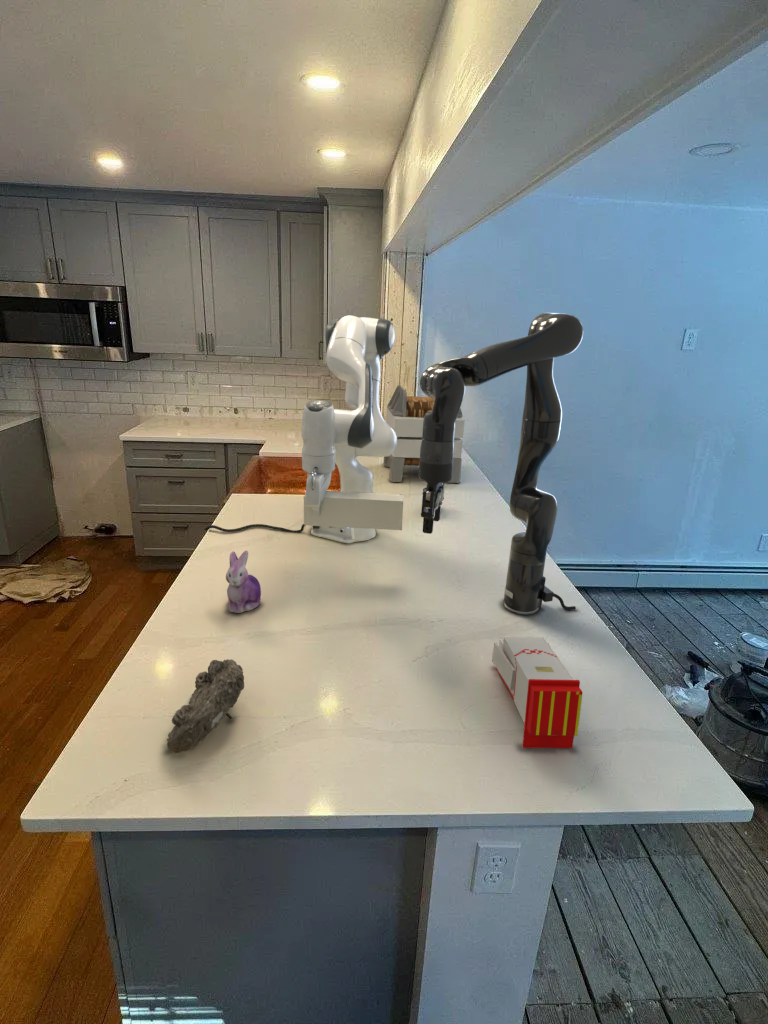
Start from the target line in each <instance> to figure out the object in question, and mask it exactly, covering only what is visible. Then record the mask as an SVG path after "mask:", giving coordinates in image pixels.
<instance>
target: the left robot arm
mask: <svg viewBox="0 0 768 1024" xmlns="http://www.w3.org/2000/svg"><path fill="white" fill-rule="evenodd" d="M325 327H326V328H325V335H324V337H325V343H326V347H327V349H326V354H325V364H326V366H327V368H328V370H329V371H330V373H331V374H332V375H333V376H335V378H336V379H338V380H341V381H342V382H345V392H344V393H345V394H344V402H345V405H346V406H347V408H349V409H340V408H339V409H337V408H335V407H334V404H333V403H332V402H331V401H330V400H326V399H313V400H310V401H308V402H306V403H305V404H304V406H303V411H302V418H301V438H302V442H303V444H302V449H301V469H302V470H303V471H304V472H306V475H307V477H306V484H305V493H306V505H307V506H308V507H312V509H313V516H315V517H319V516H320V504H321V502H322V500H323V498H324V495H325V493H326V491H328V489H329V487H330V485H331V481H332V473H333V472H334V471H335V470H336V467H337V470H338V473H339V483H340V484H339V485H340V488H339V489H340V490H339V491H344V492H364V493H374V474H373V472H372V471H371V469H369V468H368V467H366V466H365V465H364V464H362V463H360V461H359V460H358V458H357V457H360V458H361V457H362V458H375V459H377V458H378V459H379V458H384V457H387V456H390V455H391V454H392V453H393V452H394V451H395V449H396V446H397V436H396V433H395V431H394V430H393V429H392V428H391V427H390V426H389V425H388V424H387V423H386V419H384V417H383V415H382V412H381V409H380V386H381V360H382V359H384V357H385V356H386V355H387V354H389V353H390V351H391V350H392V349H393V347H394V343H395V340H396V332H395V329H394V325H393V323H392V322H391V320H389V319H386V318H381V317H379V318H376V317H375V318H374V317H366V316H362V317H361V316H360V317H358V316H356V315H349V314H348V315H345V316H342V317H338V318H333V319H332V320H330V321H329V322H328V323H327V325H326V326H325ZM305 527H307V525H304V523H302V524H301V526H300V529H298V530H294V529H293V530H292V529H288V528H286V527H281V526H273V525H269V524H262V523H255V524H247V525H244V526H241V527H238V528H237V527H236V528H232V529H231V528H229V529H228V528H223V527H221V526H218V525H214V524H211V525H208V526H206V527H205V528H204V529H203V531H209V530H210V529H215V530H218V531H221V532H225V533H235V532H240V531H244V530H246V529H250V528H264V529H265V528H267V529H270V530H277V531H282V532H286V533H294V534H295V533H297V534H300V533H302V532H304V529H305ZM310 533H311V536H315V537H319V538H323V539H326V540H330V541H336V542H339V543H343V544H352V543H357V542H365V541H368V540H372V539H373V538H375V537H376V535H377V532H376V529H366V528H346V527H327V526H312V528H311V530H310Z"/></svg>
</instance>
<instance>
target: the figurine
mask: <svg viewBox="0 0 768 1024" xmlns="http://www.w3.org/2000/svg"><path fill="white" fill-rule="evenodd" d="M248 558H249V551H248V550H244V551H243V552H242V553H241V554H240V556H239V557H238V556H237V553H236V552H235V551H231V552H230V554H229V567H228V569H227V572H226V574H225V580H226V582H227V583H228V586H227V589H226V595H227V599H228V611H229V612H231V613H235V614H236V613H237V614H241V613H244V612H249V611H252V610H254V609H256V608H257V607H259V605H260V604H261V596H262V588H261V583H260V582H259V580H258V578H257V577H256V576H254V575H252V574H249V572H248V569H247V567H246V565H247V562H248Z"/></svg>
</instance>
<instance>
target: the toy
mask: <svg viewBox="0 0 768 1024" xmlns="http://www.w3.org/2000/svg"><path fill="white" fill-rule="evenodd" d="M491 662H492V663H493V665H494V667H495V669H496V671H497V673H498V675H499V676H500V678H501V680H502V683H503V684H504V686H505V688H506V689H507V691H508V693H509V695H510V697H511V698H512V700H513V702H514V705H515V707H516V709H517V711H518V713H519V715H520V717H521V719H522V722H523V724H524V725H523V736H522V748H524V749H573V747H574V738H575V736H577V737H578V734H579V725H580V717H581V710H582V709H581V708H582V701H583V700H582V699H583V690H582V689H581V688H580V685H581V681H580V679H574V677H573V676H572V675H571V673H570V672H569V670H568V669H567V668H566V667H565V665H564V664H563V662H562V661H561V660H560V658H559V657H558V656H557V654H556V653H555V651H554V650H553V649H552V647H551V645H550V643H549V642H547V640H546V639H545V637H543V636H542V637H541V636H535V637H534V636H503V637H500V638H499V642H498V643H497V642H494V643H493V649H492V657H491Z"/></svg>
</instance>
